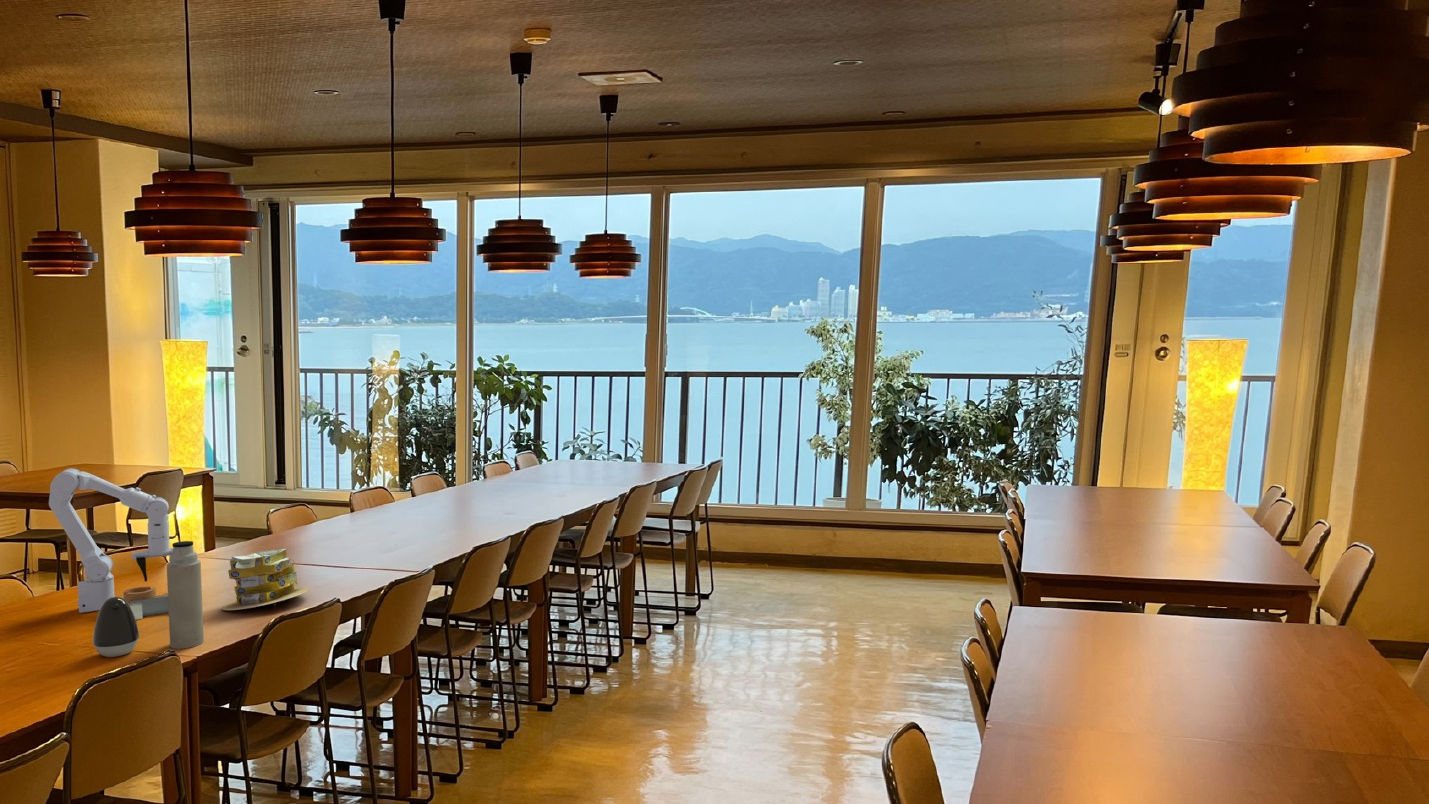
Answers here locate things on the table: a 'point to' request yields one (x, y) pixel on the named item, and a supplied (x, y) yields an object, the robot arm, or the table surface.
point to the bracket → (140, 593)
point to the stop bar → (149, 606)
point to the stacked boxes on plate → (263, 579)
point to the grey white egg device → (115, 628)
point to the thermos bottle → (184, 597)
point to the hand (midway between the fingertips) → (160, 579)
